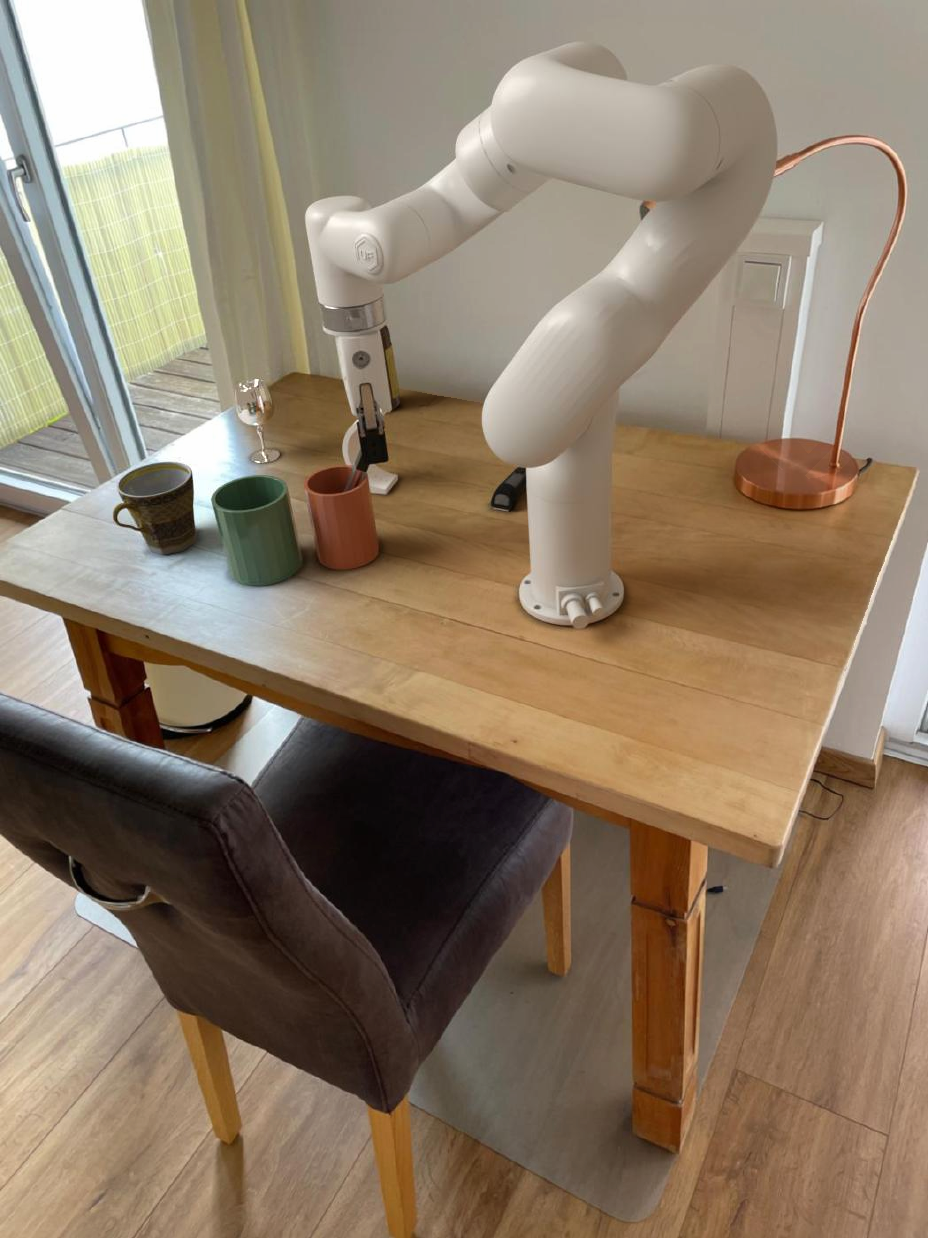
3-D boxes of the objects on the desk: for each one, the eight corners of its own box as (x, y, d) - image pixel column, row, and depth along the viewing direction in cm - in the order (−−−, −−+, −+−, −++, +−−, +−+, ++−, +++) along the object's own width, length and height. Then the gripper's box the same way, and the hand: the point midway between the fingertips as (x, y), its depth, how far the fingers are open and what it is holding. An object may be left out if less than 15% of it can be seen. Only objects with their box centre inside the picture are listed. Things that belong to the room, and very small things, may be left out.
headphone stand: (386, 494, 146) (375, 418, 139) (349, 490, 148) (336, 415, 141) (398, 479, 150) (388, 404, 143) (361, 475, 152) (349, 402, 145)
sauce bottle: (387, 395, 176) (372, 280, 164) (407, 405, 171) (393, 288, 160) (356, 406, 173) (338, 291, 161) (376, 417, 168) (359, 299, 157)
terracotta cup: (382, 564, 131) (370, 490, 125) (319, 574, 131) (304, 500, 124) (376, 532, 138) (365, 461, 131) (316, 542, 137) (302, 470, 131)
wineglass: (241, 463, 158) (224, 392, 151) (257, 447, 163) (242, 377, 156) (274, 466, 157) (258, 394, 150) (289, 449, 161) (275, 378, 154)
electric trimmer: (557, 464, 150) (556, 444, 148) (513, 512, 139) (511, 492, 137) (534, 460, 152) (533, 441, 150) (488, 508, 141) (487, 488, 139)
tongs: (400, 545, 134) (384, 418, 123) (323, 556, 133) (300, 429, 122) (398, 538, 135) (383, 412, 125) (322, 548, 134) (300, 422, 124)
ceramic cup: (172, 518, 146) (154, 456, 140) (223, 532, 141) (207, 468, 136) (105, 562, 137) (83, 498, 131) (157, 579, 133) (137, 513, 127)
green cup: (304, 579, 130) (288, 505, 123) (229, 591, 129) (209, 517, 123) (301, 541, 138) (286, 470, 131) (230, 552, 137) (212, 481, 130)
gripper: (392, 332, 110) (411, 481, 120) (378, 286, 123) (397, 424, 134) (324, 341, 109) (349, 490, 120) (318, 294, 122) (341, 433, 133)
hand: (374, 454), depth 127 cm, fingers open, 3 cm apart
